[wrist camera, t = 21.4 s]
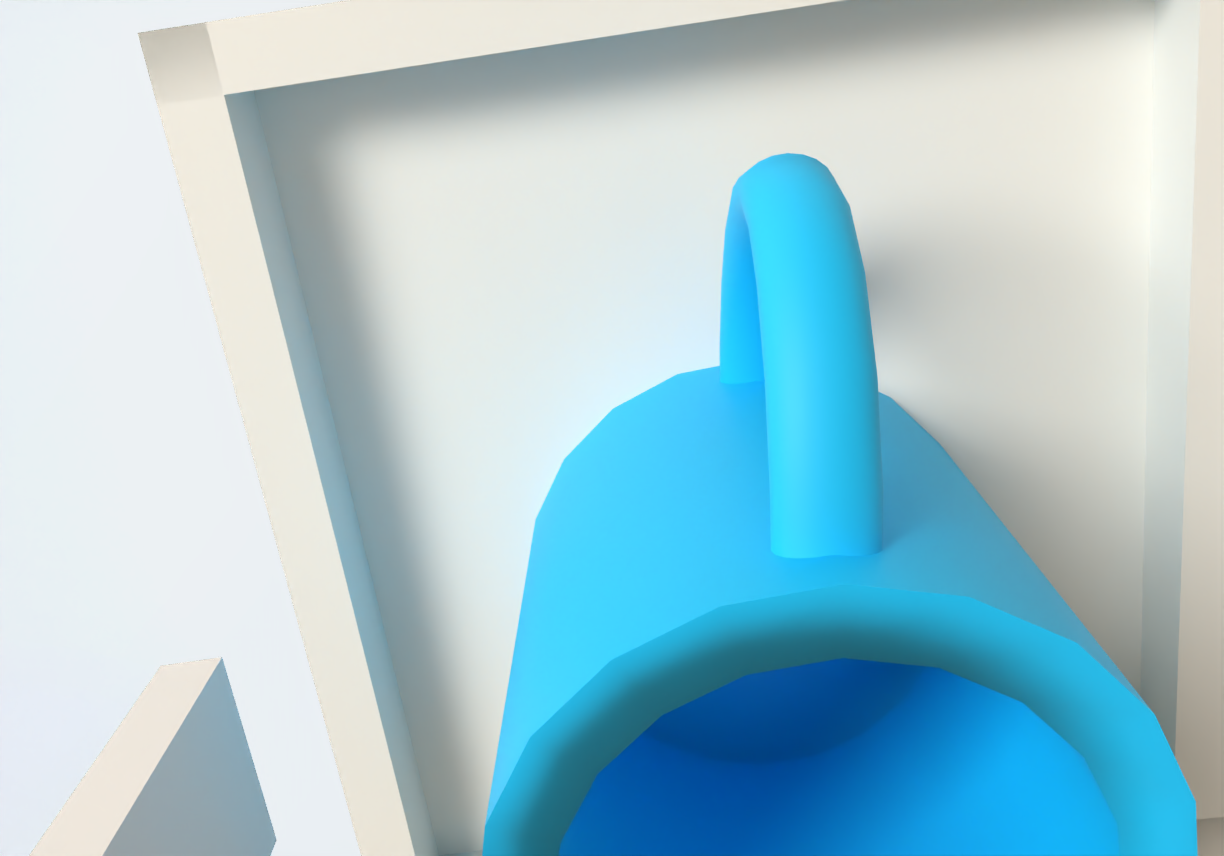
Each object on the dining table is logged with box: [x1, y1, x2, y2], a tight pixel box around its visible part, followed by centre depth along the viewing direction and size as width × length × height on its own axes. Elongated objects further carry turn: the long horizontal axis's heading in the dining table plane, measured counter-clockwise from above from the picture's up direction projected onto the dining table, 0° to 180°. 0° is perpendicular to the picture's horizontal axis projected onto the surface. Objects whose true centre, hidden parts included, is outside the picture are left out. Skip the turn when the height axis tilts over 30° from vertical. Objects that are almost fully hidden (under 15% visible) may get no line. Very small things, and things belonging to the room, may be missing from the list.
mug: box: [482, 153, 1198, 856], centre depth 16 cm, size 12×8×8 cm
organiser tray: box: [138, 0, 1224, 856], centre depth 21 cm, size 16×29×2 cm, turn 8°
